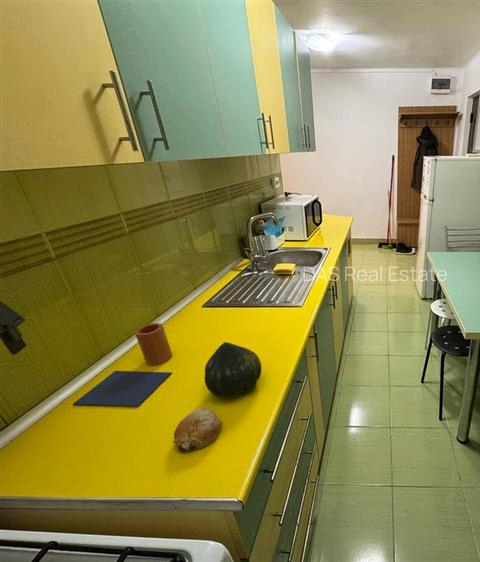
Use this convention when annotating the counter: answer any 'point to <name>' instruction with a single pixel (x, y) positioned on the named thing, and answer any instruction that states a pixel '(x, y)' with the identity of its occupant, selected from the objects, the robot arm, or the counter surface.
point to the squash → (232, 370)
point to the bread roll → (197, 430)
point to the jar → (153, 344)
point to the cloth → (124, 389)
